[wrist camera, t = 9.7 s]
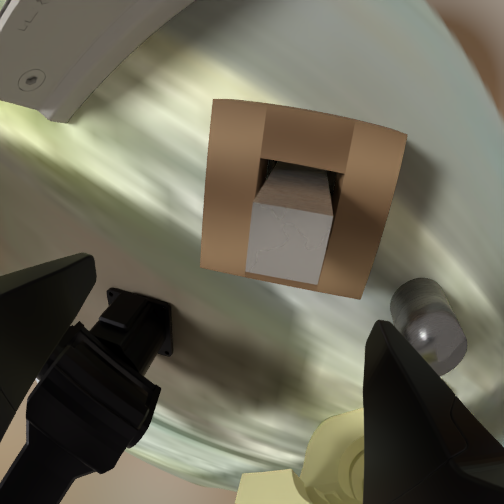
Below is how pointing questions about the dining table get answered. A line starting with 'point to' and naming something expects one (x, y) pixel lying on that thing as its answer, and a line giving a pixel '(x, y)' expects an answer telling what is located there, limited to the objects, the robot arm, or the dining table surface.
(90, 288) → the robot arm
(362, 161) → the socket block
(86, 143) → the dining table surface
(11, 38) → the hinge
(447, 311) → the cylinder
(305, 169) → the square bit
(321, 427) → the slatted curved stool
